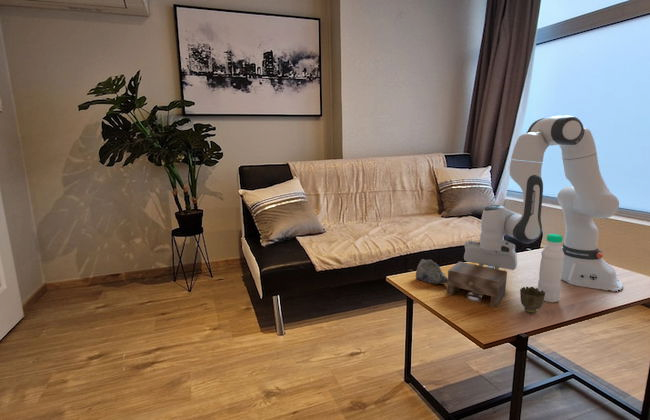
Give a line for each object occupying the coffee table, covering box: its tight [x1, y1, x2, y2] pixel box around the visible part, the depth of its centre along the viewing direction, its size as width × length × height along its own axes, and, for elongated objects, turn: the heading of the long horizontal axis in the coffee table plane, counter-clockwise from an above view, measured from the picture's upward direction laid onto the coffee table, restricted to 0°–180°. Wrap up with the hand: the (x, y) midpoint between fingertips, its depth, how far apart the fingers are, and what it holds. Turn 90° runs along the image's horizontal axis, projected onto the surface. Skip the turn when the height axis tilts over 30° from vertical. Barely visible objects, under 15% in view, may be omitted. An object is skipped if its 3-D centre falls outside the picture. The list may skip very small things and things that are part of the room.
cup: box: [519, 286, 545, 315], centre depth 120 cm, size 8×7×8 cm
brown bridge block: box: [446, 261, 508, 308], centre depth 133 cm, size 18×13×10 cm
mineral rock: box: [415, 258, 448, 285], centre depth 146 cm, size 13×11×10 cm
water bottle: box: [537, 233, 564, 303], centre depth 127 cm, size 7×7×25 cm
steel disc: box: [466, 291, 483, 303], centre depth 131 cm, size 5×5×2 cm
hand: (488, 274), depth 146 cm, fingers closed on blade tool, 2 cm apart
